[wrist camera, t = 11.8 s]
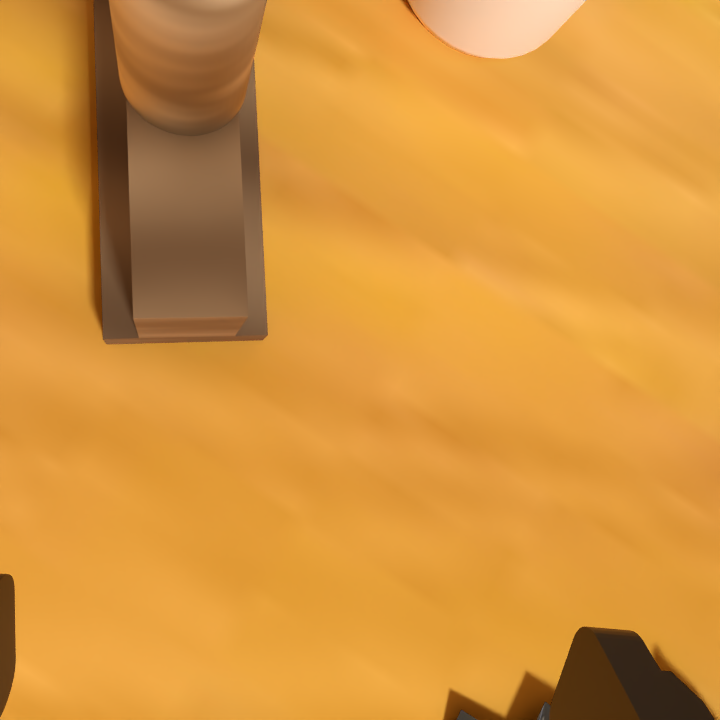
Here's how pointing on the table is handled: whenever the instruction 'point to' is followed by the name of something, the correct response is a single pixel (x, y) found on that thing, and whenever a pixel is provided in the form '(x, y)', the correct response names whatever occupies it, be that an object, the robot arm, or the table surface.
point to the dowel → (186, 59)
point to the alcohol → (494, 23)
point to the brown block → (176, 220)
